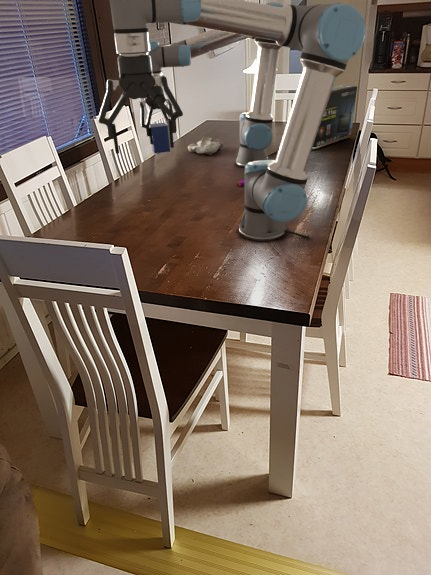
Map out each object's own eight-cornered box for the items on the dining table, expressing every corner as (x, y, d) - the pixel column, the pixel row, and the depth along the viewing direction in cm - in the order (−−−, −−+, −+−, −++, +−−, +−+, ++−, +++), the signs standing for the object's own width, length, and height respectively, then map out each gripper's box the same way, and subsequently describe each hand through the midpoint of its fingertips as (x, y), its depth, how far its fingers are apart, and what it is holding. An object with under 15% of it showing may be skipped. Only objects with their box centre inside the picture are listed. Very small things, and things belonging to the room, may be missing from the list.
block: (151, 149, 199) (148, 124, 194) (167, 147, 201) (164, 122, 195) (154, 153, 194) (151, 127, 188) (170, 151, 195) (167, 125, 190)
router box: (314, 151, 231) (318, 94, 217) (296, 148, 237) (299, 92, 224) (352, 138, 251) (358, 85, 238) (335, 135, 258) (340, 83, 245)
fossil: (211, 149, 226) (191, 129, 229) (201, 167, 233) (181, 148, 236) (230, 147, 240) (211, 129, 243) (220, 164, 247) (201, 146, 250)
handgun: (238, 184, 192) (238, 179, 191) (256, 182, 193) (256, 177, 192) (251, 201, 174) (250, 196, 173) (270, 198, 175) (270, 193, 174)
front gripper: (77, 59, 98) (94, 158, 109) (191, 52, 103) (196, 147, 114) (77, 56, 104) (93, 150, 115) (184, 50, 109) (190, 141, 120)
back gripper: (130, 88, 179) (138, 147, 191) (179, 83, 183) (184, 142, 195) (127, 85, 185) (135, 143, 197) (175, 81, 189) (180, 138, 201)
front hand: (144, 149), depth 115 cm, fingers open, 13 cm apart
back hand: (160, 142), depth 196 cm, fingers closed on block, 7 cm apart
